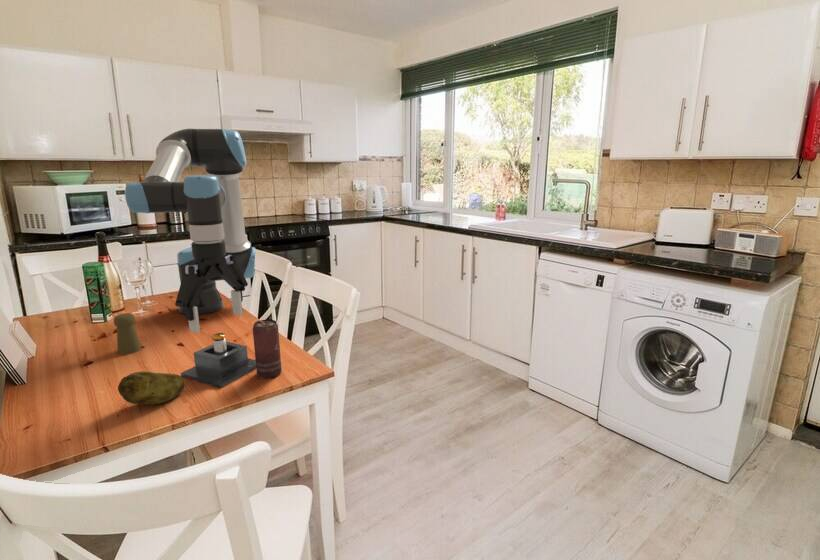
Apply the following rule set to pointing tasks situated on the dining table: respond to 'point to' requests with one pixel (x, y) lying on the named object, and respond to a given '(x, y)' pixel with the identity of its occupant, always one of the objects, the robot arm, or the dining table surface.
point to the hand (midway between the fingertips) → (217, 322)
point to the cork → (126, 334)
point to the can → (267, 348)
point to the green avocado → (150, 387)
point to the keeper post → (192, 374)
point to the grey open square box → (221, 360)
